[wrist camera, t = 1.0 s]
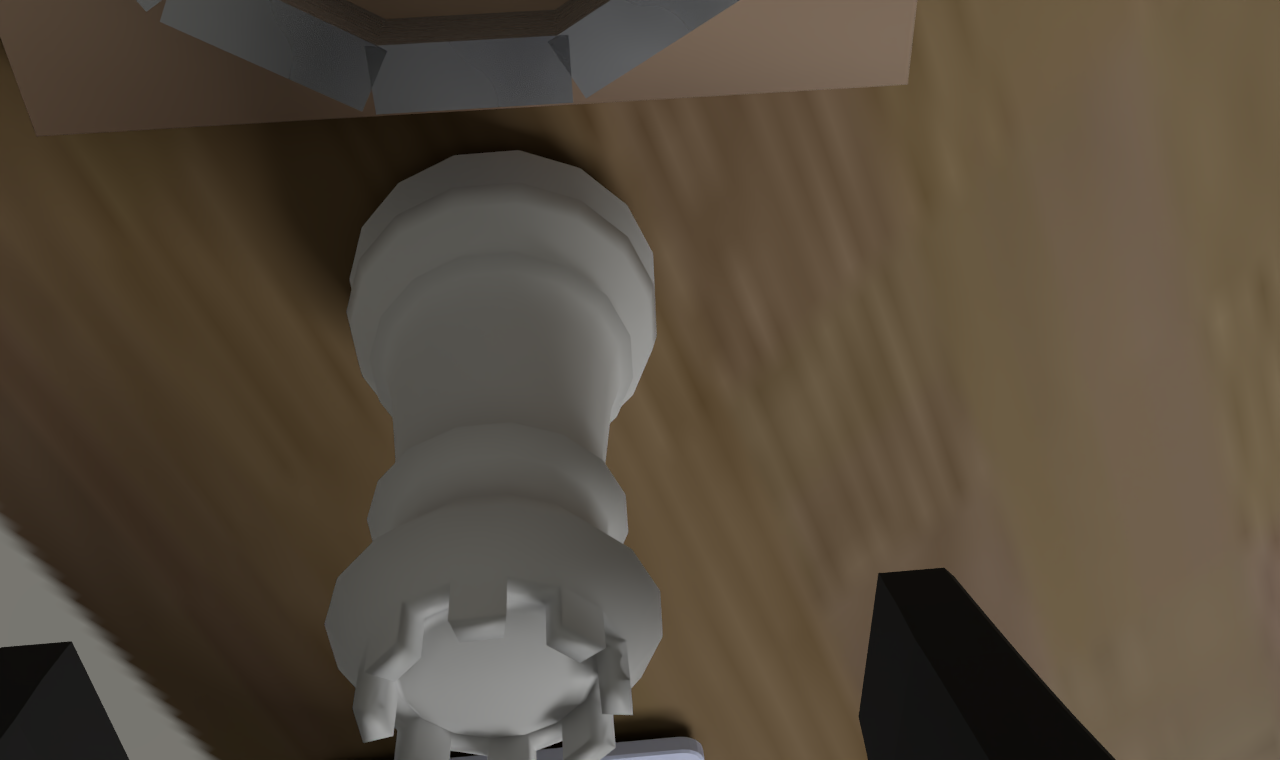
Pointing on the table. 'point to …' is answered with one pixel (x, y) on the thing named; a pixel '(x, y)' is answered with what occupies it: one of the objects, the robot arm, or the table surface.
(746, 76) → the socket board
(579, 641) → the rook chess piece
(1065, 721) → the robot arm
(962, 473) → the table surface
